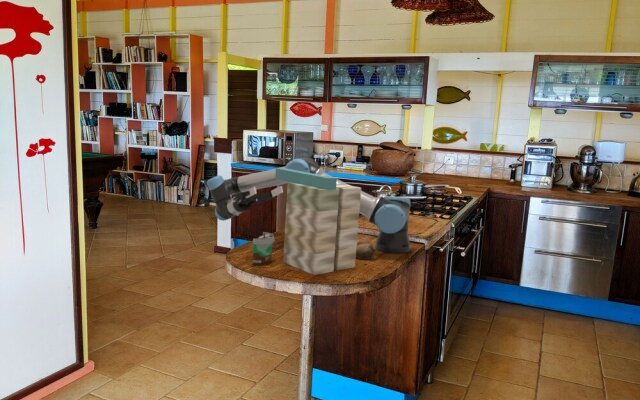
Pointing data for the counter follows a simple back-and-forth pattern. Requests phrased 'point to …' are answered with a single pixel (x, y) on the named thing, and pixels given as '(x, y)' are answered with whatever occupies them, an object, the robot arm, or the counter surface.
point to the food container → (262, 248)
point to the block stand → (321, 227)
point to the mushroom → (364, 251)
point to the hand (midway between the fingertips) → (268, 189)
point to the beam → (306, 178)
